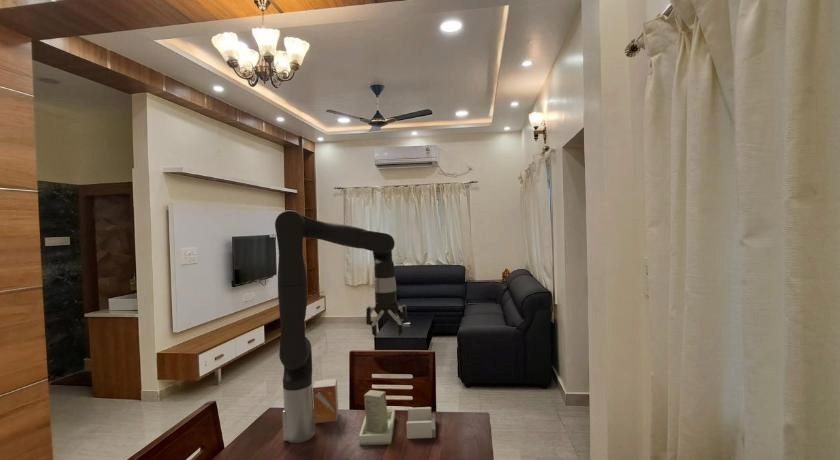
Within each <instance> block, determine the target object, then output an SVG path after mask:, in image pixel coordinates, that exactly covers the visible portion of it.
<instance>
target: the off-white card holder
mask: <svg viewBox="0 0 840 460" xmlns="http://www.w3.org/2000/svg"><path fill="white" fill-rule="evenodd" d="M435 416H436V414H435V413H432V407H431V406H422V407H421V406H419V407H408V408H407V419H408V420H407V421H406V438H407V440H408V439H409V440H410V439H428V438H429V439H432V438H436V437H437V435H436V433H437V432H436V417H435Z"/></svg>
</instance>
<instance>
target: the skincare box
mask: <svg viewBox="0 0 840 460" xmlns="http://www.w3.org/2000/svg"><path fill="white" fill-rule="evenodd" d="M386 393H387V392H386V391H383V390H374V389H370V390H368V391H367V392H366V393H365V394H363V397H364V399H363V400H364V411H365V415H366V427H367V431H372V432H378V433H383V432H384V431H385V430H386V429H387V428H388V418H387V407H388V406H387V397H386V396H387V395H386Z"/></svg>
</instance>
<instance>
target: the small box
mask: <svg viewBox="0 0 840 460" xmlns="http://www.w3.org/2000/svg"><path fill="white" fill-rule="evenodd" d="M312 391H313V410H314V424H320V423H321V424H322V423H330V422H337V421H338V417H339V399H338V397H339V396H338V395H339V394H338V379H337V378H332V379H322V380H315V381H314V383H313V385H312Z"/></svg>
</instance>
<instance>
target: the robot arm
mask: <svg viewBox="0 0 840 460" xmlns="http://www.w3.org/2000/svg"><path fill="white" fill-rule="evenodd" d="M274 221H275V222H274V228H275V234H276V240H277V247H278V249H277V250H278V262H277V263H278V264H277V293H278V294H277V297H278V308H279V310H278V312H279V319H280V320H279V321H280V340H279V341H280V342H279V351H278V352H279V353H278V355H279V360H280V363H281V364H282V366H283V377H282V388H283V389H282V391H283V407H284V409H283V410H282V413H281V415H282V416H281V417H282V432H283V441H284V442H287V443H288V442H289V443H292V444H299V443H304V442H307V441H309V440H310V439H312V438H314V436H315V434H316V433H315V429H316V428H315V423H314V404H313V356H312V355H313V353H312V344H311V341H310V339H309V338H308V337H306V331H305V320H306V315H307V314H306V313H307V307H308V306H307V305H308V293H309V292H308V291H309V290H308V275H307V270H306V269H307V268H306V264H305V259H304V253H303V251H304V250H303V243H304V238H306V239H316V240H322V241H324V242H327V243H328V242H329V243H331V244H332V243H333V244H337V245H339V246H345V247H348V248H353V249H361V250H366V251H367V250H368V251H371V252H372V254H373V255H372V256H373V261H374V267H373V268H374V269H373V270H374V302H375V306H367V308H366V315H365V317H366V321H365V323H366V324H367V326H368V325H369V326H371V334H372V336H373V337H374V338H375V337H378V327H377V323H378V322H379V320H380V319H381V320H386V319H388V320H392V319H393V320H394V321H396V323H397V324H398V325H397V329H398V331H397V332H398V337H401V335H403V331H404V330H403V325H404V324H407V323H408V313H407V312H408V311H407V305H406V304H403V305H398V298H397V281H396V275H395V274H396V273H395V272H396V271H395V264H394V263H395V262H394V260H393V251H392V250H394V248H395V239H394V238H393V236H392V235H391V234H388V233H386V232H379V231H374V230H373V231H372V230H368V229H364V228H360V227H356V226H352V225H347V224H340V223H332V222H326V221H322V220H317V219H314V218H311V217H308V216H306V215H303V214H301V213H299V212H298V211H295V210H292V209H290V210H288V209H287V210H284V211H282V212H281V213H279V214H278V215H277V216H276V219H275V220H274ZM398 311H400V313H402V318H403V319H401V317H400V315H398V313H397V312H398ZM374 312H375V313H376V314H377V315H376V316H375V318H374V320H372V314H373V313H374Z"/></svg>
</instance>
